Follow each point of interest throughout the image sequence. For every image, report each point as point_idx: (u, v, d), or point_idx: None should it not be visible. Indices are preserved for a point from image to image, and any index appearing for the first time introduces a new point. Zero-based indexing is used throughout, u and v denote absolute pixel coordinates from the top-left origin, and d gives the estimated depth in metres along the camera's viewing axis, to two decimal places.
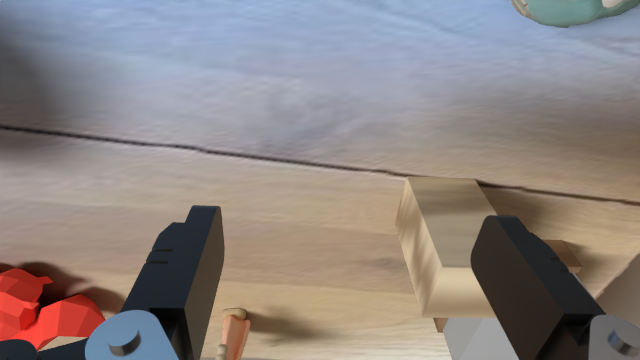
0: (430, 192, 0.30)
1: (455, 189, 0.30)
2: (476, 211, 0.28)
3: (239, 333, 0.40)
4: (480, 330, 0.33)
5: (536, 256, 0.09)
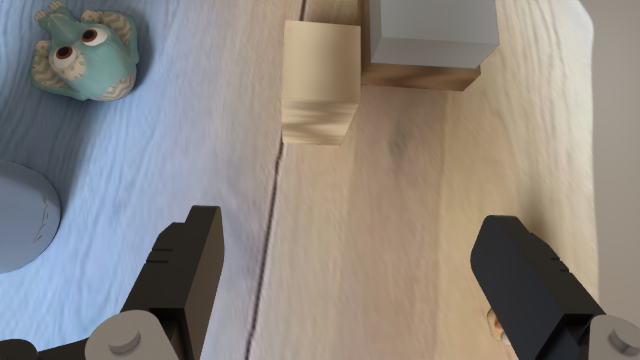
0: None
1: None
2: None
3: None
4: (422, 35, 0.30)
5: (536, 256, 0.09)
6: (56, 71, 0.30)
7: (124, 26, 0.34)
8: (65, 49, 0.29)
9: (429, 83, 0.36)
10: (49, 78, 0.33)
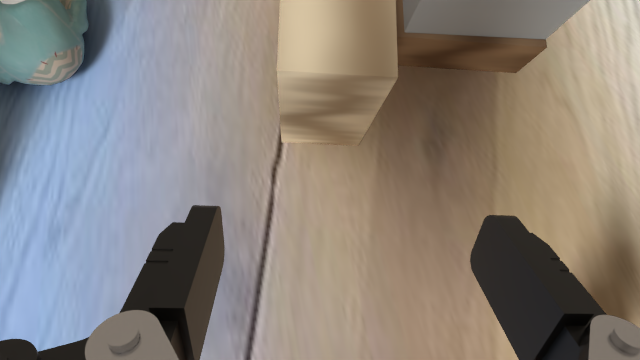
0: None
1: None
2: None
3: None
4: None
5: (536, 256, 0.09)
6: None
7: None
8: None
9: (474, 61, 0.27)
10: None
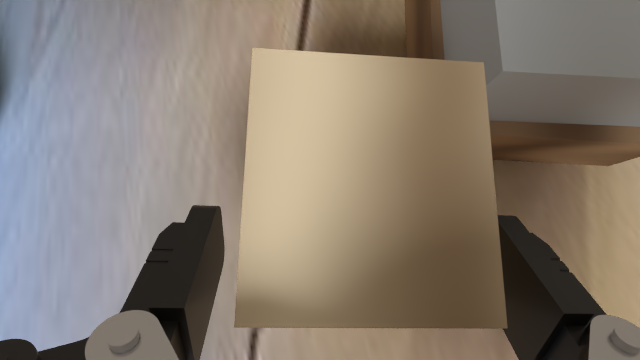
0: None
1: None
2: None
3: None
4: (601, 66, 0.12)
5: (536, 256, 0.09)
6: None
7: None
8: None
9: (553, 155, 0.18)
10: None
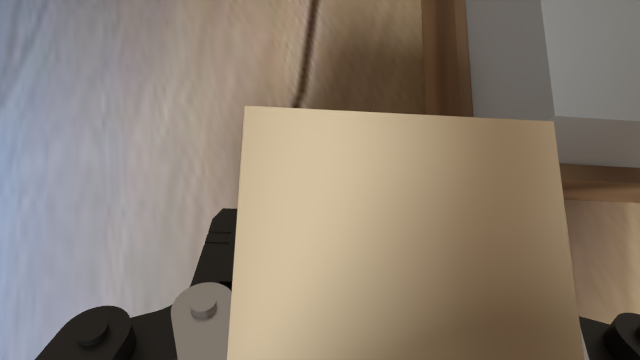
0: None
1: None
2: None
3: None
4: None
5: None
6: None
7: None
8: None
9: (595, 194, 0.16)
10: None
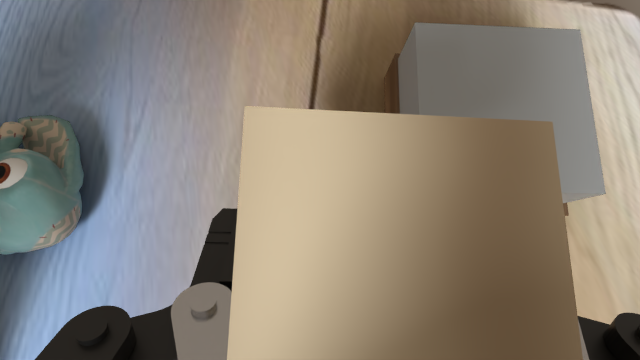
0: None
1: None
2: None
3: None
4: None
5: None
6: None
7: (60, 136, 0.25)
8: None
9: None
10: None
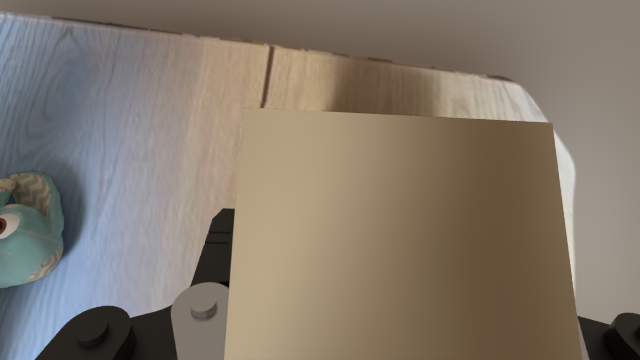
0: None
1: None
2: None
3: None
4: None
5: None
6: None
7: (44, 188, 0.31)
8: None
9: None
10: None
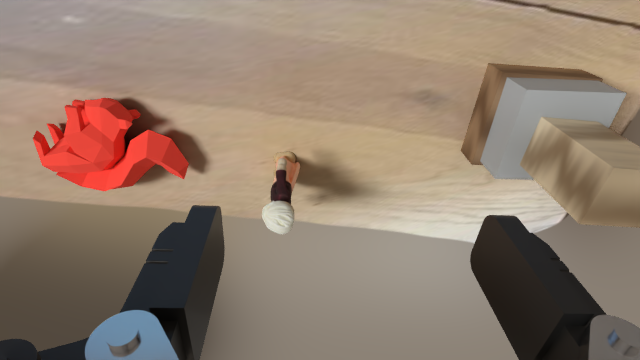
0: (568, 127, 0.35)
1: (587, 126, 0.35)
2: (614, 139, 0.33)
3: (291, 169, 0.44)
4: (518, 123, 0.37)
5: (536, 256, 0.09)
6: None
7: None
8: None
9: (474, 125, 0.43)
10: None
